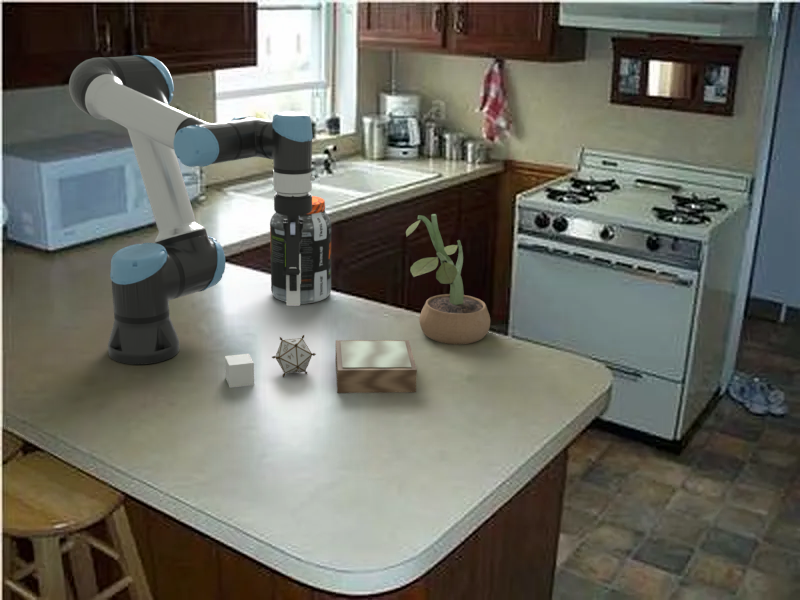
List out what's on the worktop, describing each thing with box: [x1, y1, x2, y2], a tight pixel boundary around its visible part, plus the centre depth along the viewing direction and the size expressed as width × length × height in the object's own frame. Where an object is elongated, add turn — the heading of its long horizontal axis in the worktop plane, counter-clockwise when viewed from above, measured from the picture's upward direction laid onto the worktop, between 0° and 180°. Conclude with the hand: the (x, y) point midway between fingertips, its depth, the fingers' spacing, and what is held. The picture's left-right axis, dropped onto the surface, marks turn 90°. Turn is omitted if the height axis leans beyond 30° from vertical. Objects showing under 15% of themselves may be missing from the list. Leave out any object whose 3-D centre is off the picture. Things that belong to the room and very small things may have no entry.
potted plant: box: [405, 213, 491, 345], centre depth 211 cm, size 22×18×30 cm
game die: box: [271, 334, 317, 378], centre depth 190 cm, size 9×8×10 cm
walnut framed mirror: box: [335, 339, 418, 394], centre depth 190 cm, size 16×16×5 cm
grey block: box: [224, 353, 255, 389], centre depth 186 cm, size 5×5×5 cm
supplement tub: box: [269, 195, 332, 305], centre depth 234 cm, size 16×16×26 cm
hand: (293, 294), depth 186 cm, fingers open, 13 cm apart
